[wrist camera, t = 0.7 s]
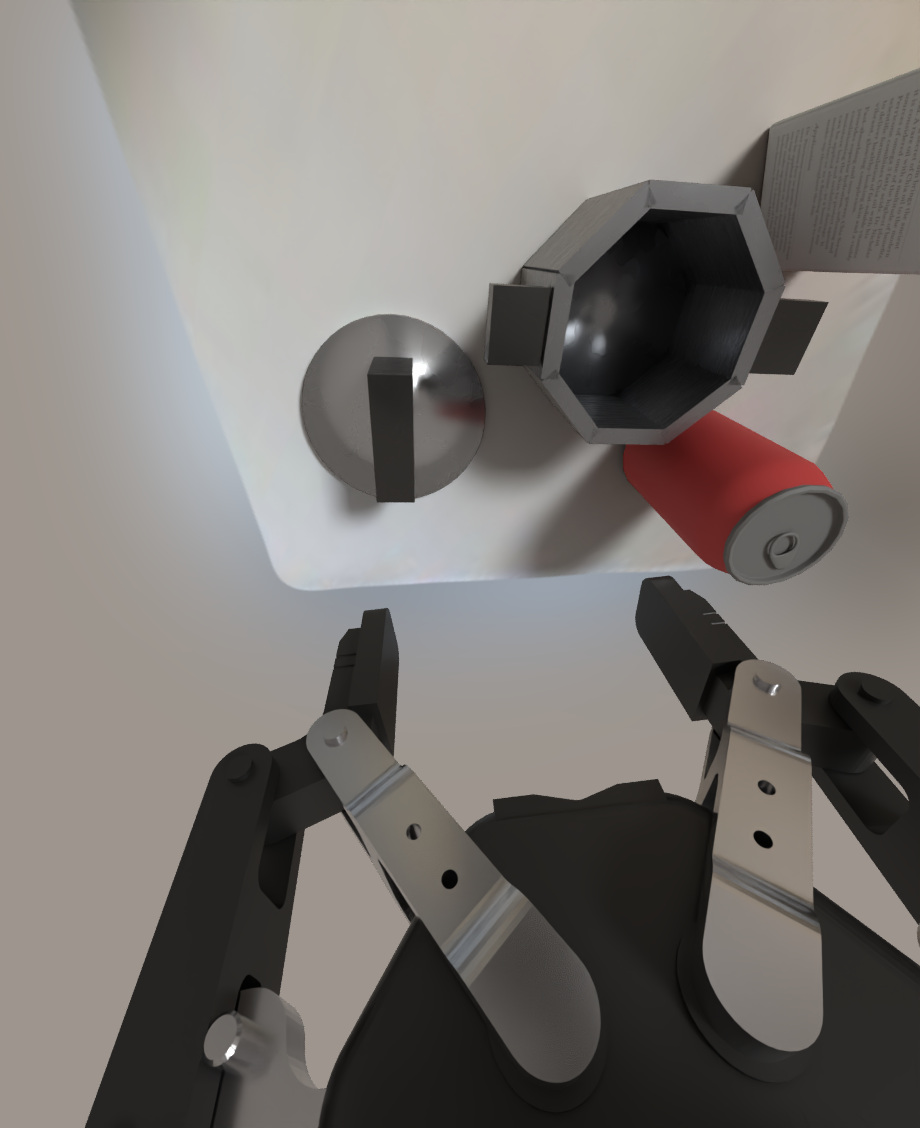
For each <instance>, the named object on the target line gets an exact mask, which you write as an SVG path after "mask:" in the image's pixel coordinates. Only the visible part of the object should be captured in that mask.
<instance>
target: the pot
mask: <svg viewBox="0 0 920 1128" xmlns="http://www.w3.org/2000/svg"><path fill="white" fill-rule="evenodd" d="M651 224H655V226H656V227H655V226H653V225H651ZM523 266H524V268H522V272H521V281H520V285H513V284H494V283H490V284H489V297H488V311H487V325H486V338H485V352H484V360H485V362H486V363H487V365H516V366H524V367H525V369H526V370H527V371H528V373H529V374H530V375H531V377H532V378H533V379H534V380H535V382H536V383H537V384H538V386H539V387H540V388H541V390H542V391H543V392H544V394H545V395H546V396H547V398H548V399H549V400H550V402H551V403H552V404H553V405H554V406H555V407H556V408H557V410H558V411H559V412H560V413H561V414H562V415H563V416H564V417H565V419H566V420H567V421H568V422H569V423H570V424H571V425H572V426H573V427H574V429H575V430H576V431H577V432H578V433H579V434H580V435H581V436H582V437H583V439H584V440H585V441H586V442H587V443H589V444H639V445H664V444H665V443H666V444H667V443H669V442H670V441H671V440H673V439H674V438H676V437H677V436H678V435H680V434H681V433H682V432H684V431H685V430H686V429H688V428H689V427H690V426H692V425H693V424H694V423H696V422H697V421H698V420H700V419H701V418H702V417H704V416H705V415H706V414H708V413H709V412H710V411H712V410H713V409H714V408H716V407H717V406H718V405H720V404H721V403H722V402H724V401H725V400H726V399H728V398H729V397H730V396H732V395H733V394H734V393H736V392H737V391H738V390H740V389H741V388H742V387H741V385H744V384H745V382H746V379H747V377H748V374H749V373H755V374H785V375H794V374H795V372H796V370H797V368H798V366H799V363H800V361H801V359H802V357H803V355H804V353H805V351H806V349H807V347H808V345H809V342H810V340H811V338H812V336H813V334H814V332H815V330H816V328H817V326H818V324H819V321H820V319H821V317H822V315H823V313H824V311H825V309H826V307H827V305H828V303H829V302H822V301H814V300H802V299H783V298H781V295H782V293H783V290H784V288H785V286H782V285H783V284H785V283H786V282H785V280H784V277H783V274H782V271H781V268H780V265H779V262H778V259H777V256H776V253H775V250H774V247H773V244H772V241H771V238H770V235H769V233H768V230H767V227H766V224H765V221H764V218H763V215H762V212H761V209H760V206H759V203H758V200H757V197H756V194H755V191H754V190H751V188H750V187H738V186H725V185H712V184H699V183H687V182H674V181H661V180H648V181H645V182H641V183H638V184H635V185H632V186H628V187H625V188H622V189H619V190H615V191H612V192H609V193H606V194H602V195H599V196H596V197H593V198H589V199H587V200H585V201H584V202H583V204H582V205H581V206H580V207H579V208H578V209H577V210H576V211H575V212H574V213H573V214H572V215H571V216H570V217H569V218H568V219H567V220H566V221H565V222H564V223H563V224H562V225H561V227H560V228H559V229H558V230H557V231H556V232H555V233H554V234H553V235H552V236H551V237H550V238H549V239H548V240H547V241H546V242H545V243H544V244H543V245H542V246H541V247H540V248H539V249H538V251H537V252H536V253H535V254H534V255H533V256H532V257H531V258H530V259H529V260H528V261H527V262H526V263H525V264H524V265H523Z"/></svg>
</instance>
